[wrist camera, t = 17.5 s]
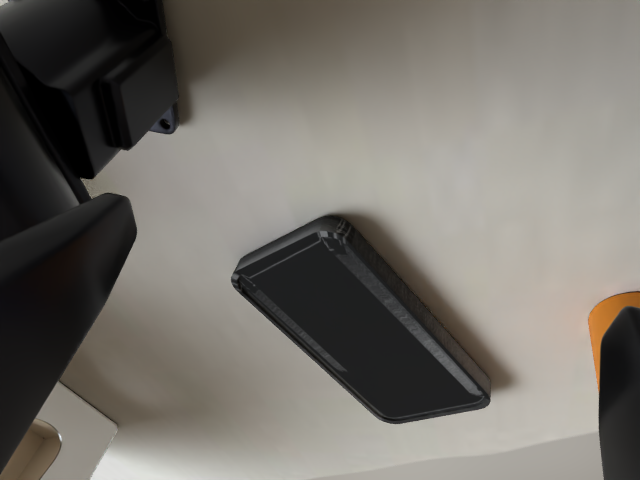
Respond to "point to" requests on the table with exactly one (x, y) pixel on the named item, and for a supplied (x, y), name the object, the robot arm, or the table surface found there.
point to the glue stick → (607, 320)
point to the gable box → (62, 441)
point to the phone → (361, 323)
